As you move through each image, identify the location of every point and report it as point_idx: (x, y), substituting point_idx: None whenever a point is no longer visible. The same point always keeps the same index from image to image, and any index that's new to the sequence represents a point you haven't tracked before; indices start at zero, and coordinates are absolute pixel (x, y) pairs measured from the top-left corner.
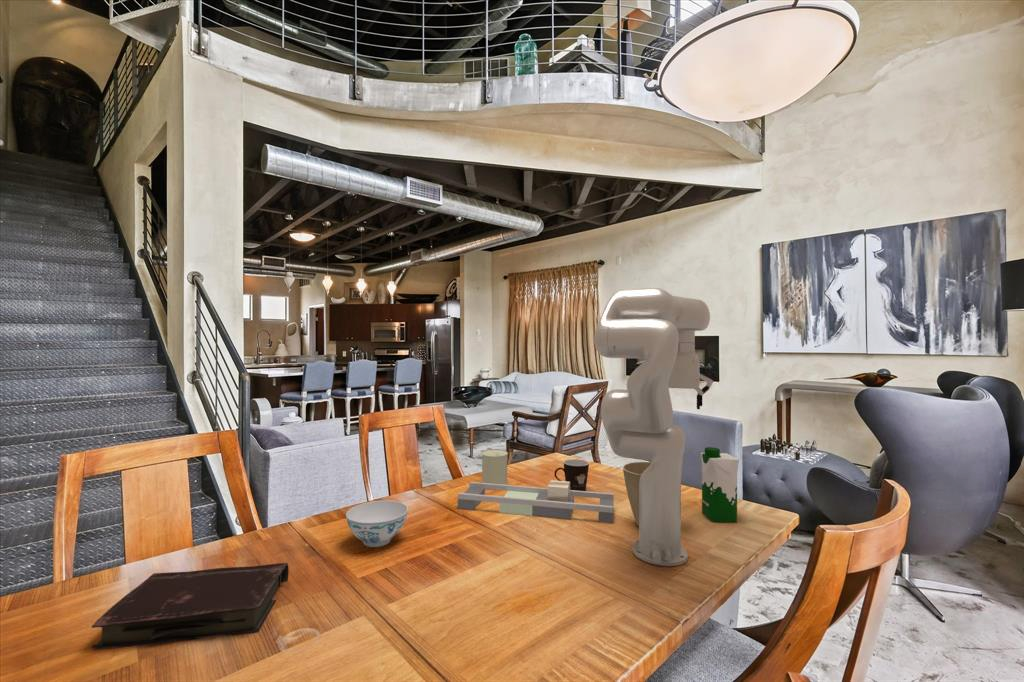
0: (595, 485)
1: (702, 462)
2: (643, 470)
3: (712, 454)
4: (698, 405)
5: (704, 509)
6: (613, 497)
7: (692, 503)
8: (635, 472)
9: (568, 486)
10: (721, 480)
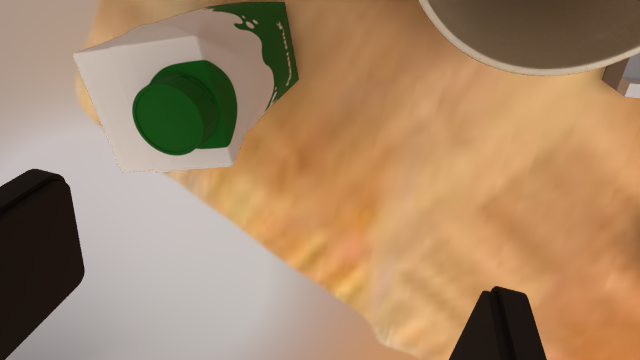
0: (592, 283)
1: (243, 120)
2: (553, 51)
3: (179, 78)
4: (13, 193)
5: (291, 55)
6: (625, 80)
7: (311, 155)
8: (604, 33)
9: None
10: (197, 15)
